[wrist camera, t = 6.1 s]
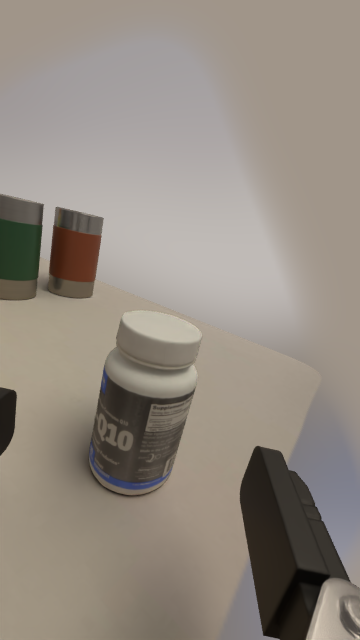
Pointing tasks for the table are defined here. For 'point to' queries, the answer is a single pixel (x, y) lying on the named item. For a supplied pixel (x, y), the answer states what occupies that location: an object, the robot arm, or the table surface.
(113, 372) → the pill bottle
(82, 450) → the table surface
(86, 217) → the can rust
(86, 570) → the table surface
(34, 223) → the can green
